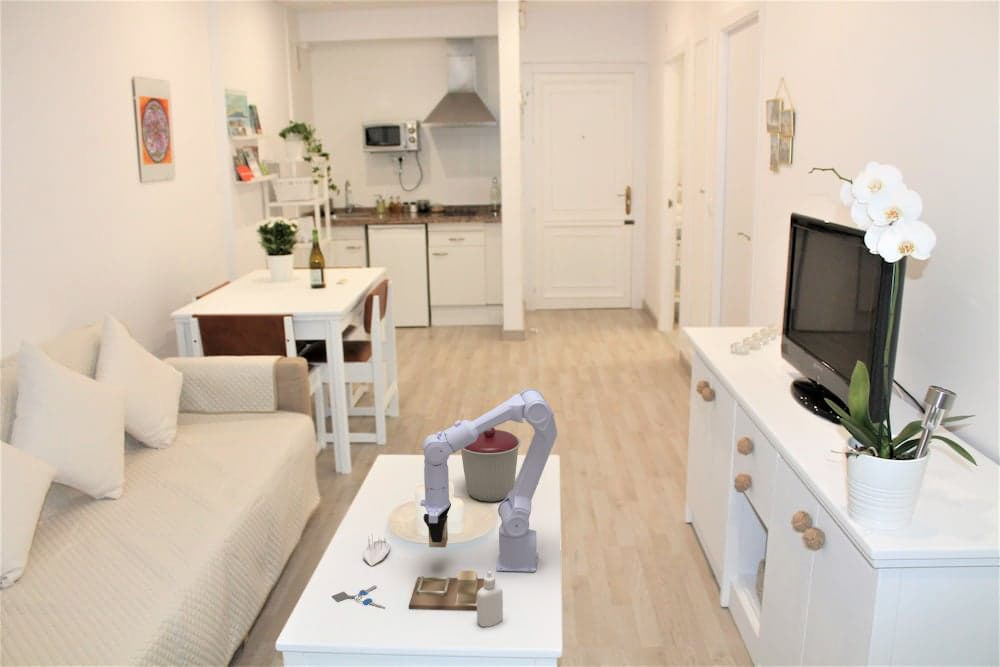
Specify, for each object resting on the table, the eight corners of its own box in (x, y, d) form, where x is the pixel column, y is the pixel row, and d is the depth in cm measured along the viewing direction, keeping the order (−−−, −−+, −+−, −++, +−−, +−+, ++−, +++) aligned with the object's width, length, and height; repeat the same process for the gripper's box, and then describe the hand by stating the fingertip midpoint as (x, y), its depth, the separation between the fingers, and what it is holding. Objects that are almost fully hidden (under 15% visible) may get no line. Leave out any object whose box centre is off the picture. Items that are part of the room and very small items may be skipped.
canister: (466, 511, 235) (464, 440, 230) (454, 485, 252) (452, 419, 247) (528, 503, 239) (527, 434, 234) (512, 479, 256) (511, 414, 251)
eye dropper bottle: (477, 616, 184) (476, 566, 181) (502, 615, 184) (502, 566, 181) (476, 627, 180) (475, 577, 177) (502, 627, 180) (502, 577, 177)
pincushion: (383, 568, 205) (382, 547, 204) (359, 567, 206) (358, 546, 204) (394, 544, 217) (393, 524, 215) (371, 543, 217) (370, 523, 216)
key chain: (328, 602, 191) (327, 598, 190) (343, 583, 198) (343, 580, 198) (384, 610, 187) (384, 607, 187) (398, 591, 195) (398, 588, 195)
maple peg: (447, 539, 203) (447, 516, 202) (445, 547, 199) (444, 524, 198) (431, 539, 203) (430, 516, 202) (429, 547, 200) (428, 524, 198)
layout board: (484, 582, 197) (484, 555, 196) (480, 610, 186) (479, 582, 184) (417, 580, 199) (416, 554, 197) (409, 608, 187) (407, 580, 185)
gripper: (424, 472, 205) (426, 522, 208) (414, 497, 191) (417, 551, 194) (453, 472, 205) (454, 523, 208) (445, 498, 191) (447, 552, 194)
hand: (438, 537), depth 201 cm, fingers closed on maple peg, 4 cm apart
